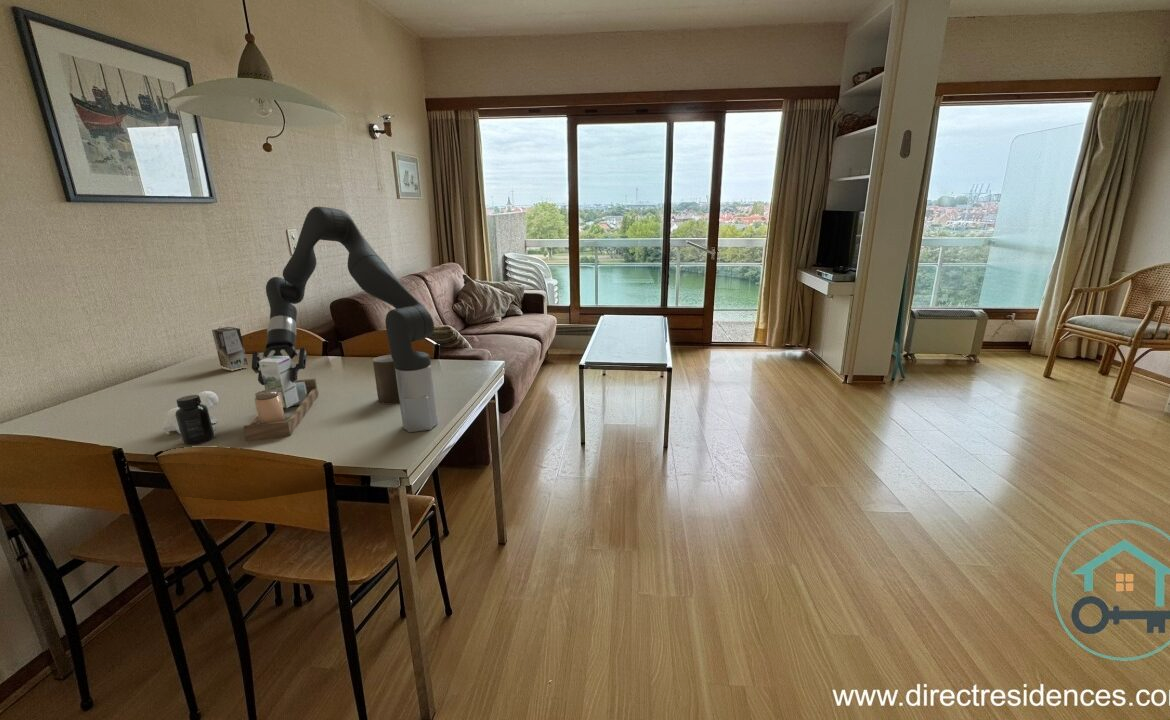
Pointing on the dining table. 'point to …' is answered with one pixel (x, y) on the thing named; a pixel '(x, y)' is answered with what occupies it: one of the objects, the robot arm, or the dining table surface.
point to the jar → (269, 406)
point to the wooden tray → (283, 427)
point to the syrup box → (279, 378)
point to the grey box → (300, 392)
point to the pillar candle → (386, 379)
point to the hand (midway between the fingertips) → (277, 382)
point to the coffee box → (230, 347)
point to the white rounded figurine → (170, 419)
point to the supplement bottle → (193, 420)
